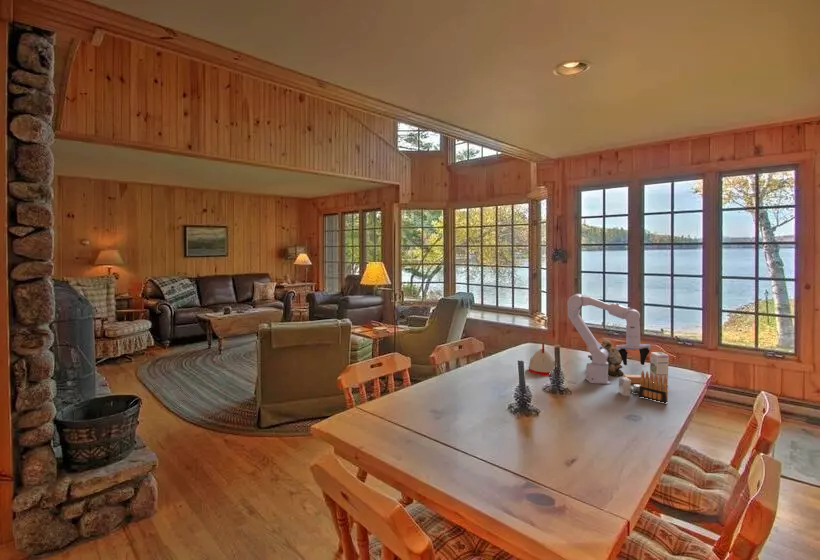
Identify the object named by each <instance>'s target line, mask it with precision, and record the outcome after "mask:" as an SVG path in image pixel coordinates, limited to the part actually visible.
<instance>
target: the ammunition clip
mask: <svg viewBox="0 0 820 560" xmlns="http://www.w3.org/2000/svg"><path fill="white" fill-rule="evenodd" d="M640 375H641V380H640V389H639V394H638V398H639V397H644V398H648V399H652V400H656V401H660V402H664V403H666V402H668V385H667V377H666V375H665V377H664V382H663V384H662V375H661V374H660V376H659V383H658V378H657V373H656V374H655V377H654V383H653V374H652V372H651V374H650V373H649V371H646V373H645V372H644V370H642V371H641V374H640ZM644 375H646V376H645V380H644ZM649 378H650V380H649Z"/></svg>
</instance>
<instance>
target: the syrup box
mask: <svg viewBox="0 0 820 560" xmlns="http://www.w3.org/2000/svg"><path fill="white" fill-rule="evenodd" d="M669 357H670V355H668V354H666V353H665V352H661V351H655V352H654V351H652V352H650V361H649V362H650V365H649V366H650V367H649V375H650V374H651V372H652V374H653V382H654V377H655V374H656V373H657V378H658V383H659V376H660V374H661V375H662V384H663V382H664V377H665V375H666V377H667V384H669Z"/></svg>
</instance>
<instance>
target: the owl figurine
mask: <svg viewBox="0 0 820 560" xmlns="http://www.w3.org/2000/svg"><path fill="white" fill-rule="evenodd" d="M597 342H598V343H600V344H601V346H602V347H603V348H605V349H606V350H607V351H608V353H609V356H608V358H607V359H606V360H607V362H608V375H609V376H608V377H618V376H619V377H623V375H624V371H622V368H623V365H622V363H623V360H622V357H621V355H620V353H619V351H618V350H617V349H616V346H614V345H613V343H612V342H611V340H609V339H604V340H602V342H599V341H597ZM587 358H589V360H590V361H591V362H592V361H593V360H592V355H591V354H590V355H587Z"/></svg>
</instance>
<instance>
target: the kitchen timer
mask: <svg viewBox="0 0 820 560" xmlns="http://www.w3.org/2000/svg"><path fill="white" fill-rule="evenodd" d="M541 344H542V347H541V348H540V349H538V350H536V351H535V352H534V354H533V355H532V356H531V357H530V359H529V364H528V365H529V366H528V371H529V372H530V373H531V374H534V375H538V374H539V375H538V376H550V375H549V373H550V371H551V370H552V369H553V368H554V366H555V360H556V358H554V357H553V355H552V353H551V352H550V351H549V350H548V349H545V342H542V343H541Z"/></svg>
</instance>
